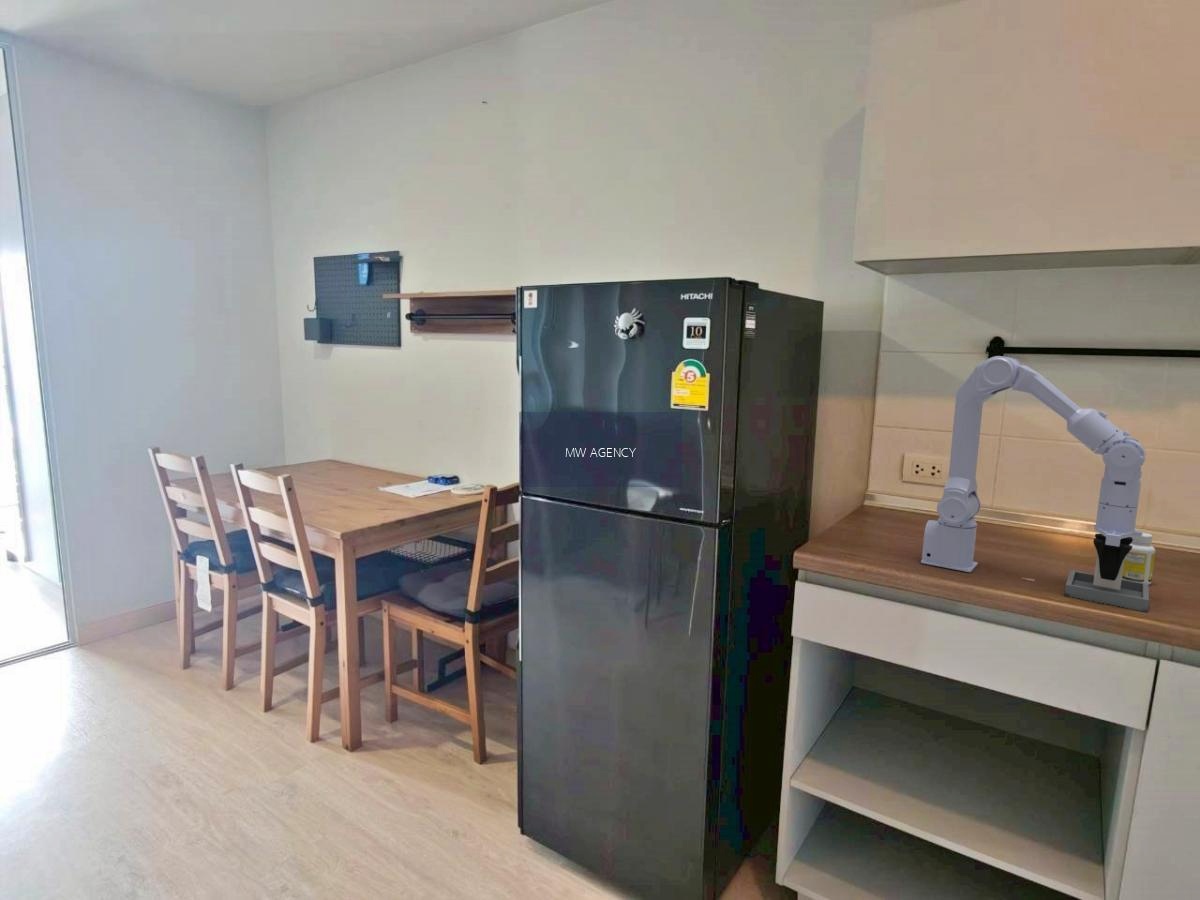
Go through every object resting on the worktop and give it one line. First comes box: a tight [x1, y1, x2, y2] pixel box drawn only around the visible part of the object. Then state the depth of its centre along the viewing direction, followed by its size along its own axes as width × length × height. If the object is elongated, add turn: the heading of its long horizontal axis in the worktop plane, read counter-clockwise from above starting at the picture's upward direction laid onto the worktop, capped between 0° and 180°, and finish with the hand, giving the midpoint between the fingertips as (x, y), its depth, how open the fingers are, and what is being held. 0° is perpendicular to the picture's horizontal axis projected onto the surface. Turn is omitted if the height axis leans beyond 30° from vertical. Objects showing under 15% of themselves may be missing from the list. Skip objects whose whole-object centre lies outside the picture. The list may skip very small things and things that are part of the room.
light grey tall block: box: [1093, 553, 1124, 590], centre depth 125 cm, size 4×4×7 cm
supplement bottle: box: [1122, 532, 1156, 586], centre depth 135 cm, size 5×5×10 cm
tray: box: [1063, 569, 1150, 613], centre depth 126 cm, size 12×12×2 cm
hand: (1108, 576), depth 125 cm, fingers closed on light grey tall block, 4 cm apart
